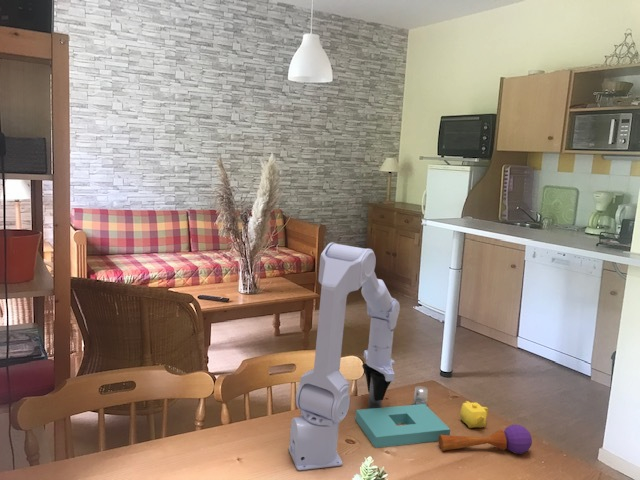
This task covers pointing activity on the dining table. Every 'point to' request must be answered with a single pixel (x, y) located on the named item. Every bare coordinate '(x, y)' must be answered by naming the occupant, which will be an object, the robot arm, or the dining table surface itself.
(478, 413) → the teapot
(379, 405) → the tall pin
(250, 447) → the dining table surface
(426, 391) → the short pin
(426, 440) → the hole plate
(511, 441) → the kendama
